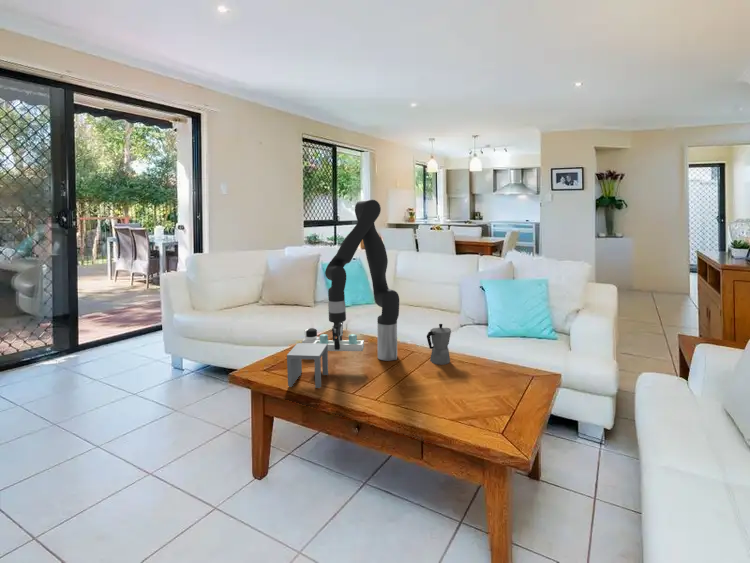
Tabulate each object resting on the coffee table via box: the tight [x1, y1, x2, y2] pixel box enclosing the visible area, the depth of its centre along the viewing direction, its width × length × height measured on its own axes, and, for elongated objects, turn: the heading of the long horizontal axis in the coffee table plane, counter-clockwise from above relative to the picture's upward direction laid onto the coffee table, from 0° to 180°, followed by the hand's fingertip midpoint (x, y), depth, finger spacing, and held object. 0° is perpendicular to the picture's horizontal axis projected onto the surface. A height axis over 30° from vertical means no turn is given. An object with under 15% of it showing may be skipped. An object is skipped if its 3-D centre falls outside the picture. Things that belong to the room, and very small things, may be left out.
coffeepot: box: [426, 323, 452, 366], centre depth 206 cm, size 15×9×18 cm, turn 129°
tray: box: [314, 333, 365, 352], centre depth 199 cm, size 22×6×6 cm, turn 84°
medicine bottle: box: [301, 327, 320, 343], centre depth 221 cm, size 7×7×12 cm
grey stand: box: [286, 342, 329, 389], centre depth 185 cm, size 13×16×14 cm
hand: (338, 346), depth 199 cm, fingers closed on tray, 6 cm apart
